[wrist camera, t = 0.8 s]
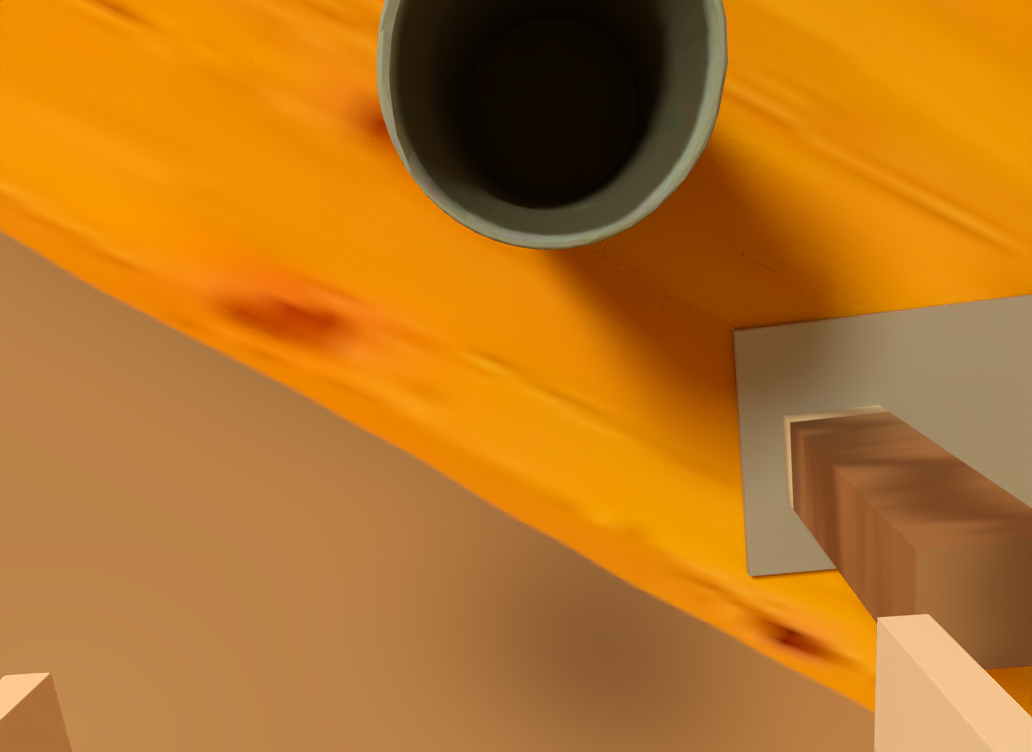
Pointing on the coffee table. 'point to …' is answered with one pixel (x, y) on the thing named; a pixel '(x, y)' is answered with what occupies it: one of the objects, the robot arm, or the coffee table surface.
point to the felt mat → (883, 401)
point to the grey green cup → (550, 108)
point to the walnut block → (915, 528)
